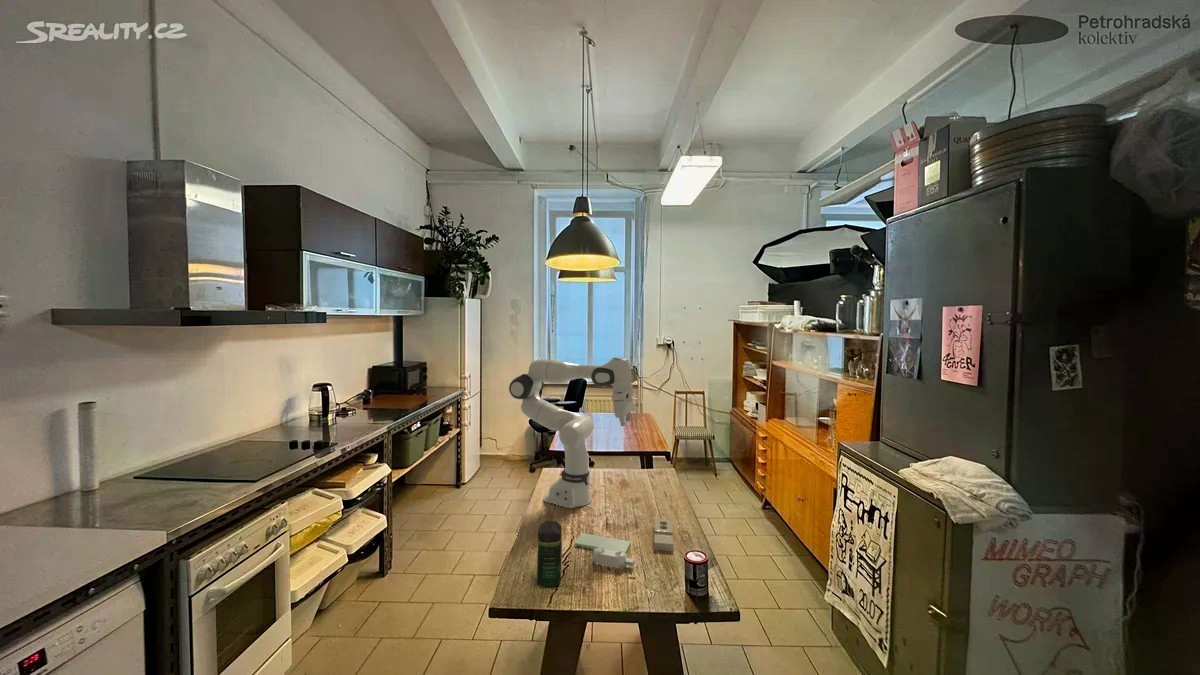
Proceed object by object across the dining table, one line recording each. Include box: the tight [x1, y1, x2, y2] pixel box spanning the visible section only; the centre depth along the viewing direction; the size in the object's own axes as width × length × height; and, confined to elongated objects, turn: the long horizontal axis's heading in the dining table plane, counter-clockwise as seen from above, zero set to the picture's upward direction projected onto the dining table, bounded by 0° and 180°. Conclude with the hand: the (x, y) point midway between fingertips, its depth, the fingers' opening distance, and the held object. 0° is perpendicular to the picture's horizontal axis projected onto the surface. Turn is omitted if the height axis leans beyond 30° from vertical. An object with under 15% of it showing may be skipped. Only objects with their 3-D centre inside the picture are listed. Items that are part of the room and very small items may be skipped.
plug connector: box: [592, 548, 635, 570], centre depth 157 cm, size 15×4×4 cm, turn 72°
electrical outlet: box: [653, 518, 675, 552], centre depth 175 cm, size 7×4×18 cm
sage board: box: [574, 532, 632, 554], centre depth 170 cm, size 20×8×1 cm, turn 72°
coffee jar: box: [536, 520, 563, 588], centre depth 147 cm, size 10×8×19 cm
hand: (625, 423), depth 201 cm, fingers open, 8 cm apart
